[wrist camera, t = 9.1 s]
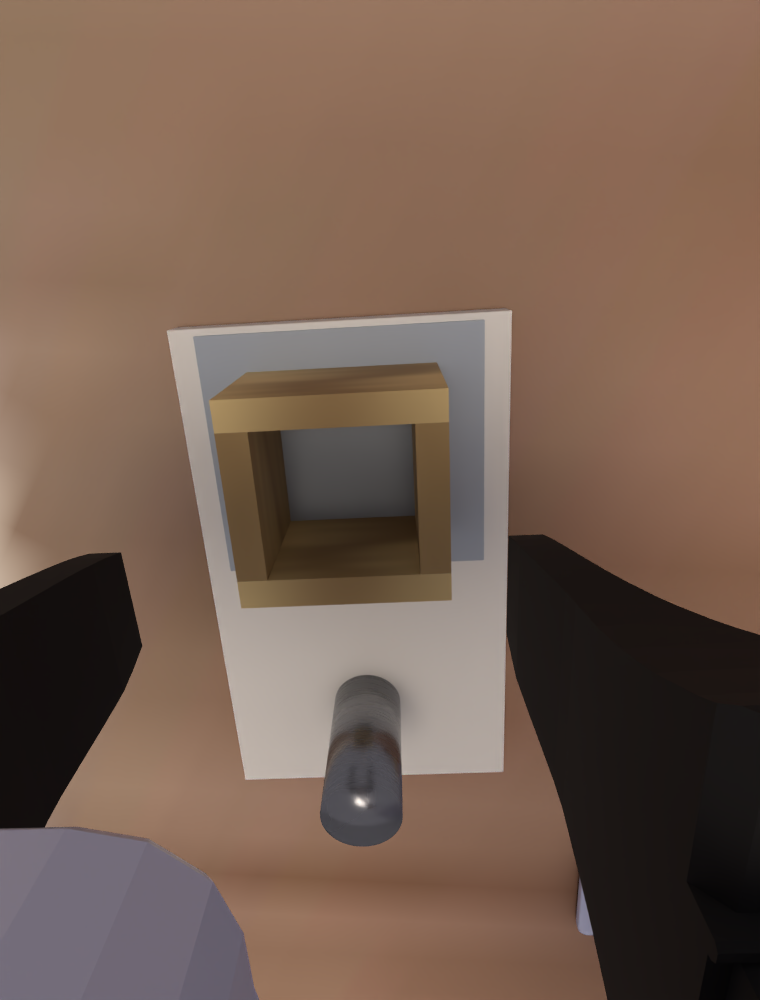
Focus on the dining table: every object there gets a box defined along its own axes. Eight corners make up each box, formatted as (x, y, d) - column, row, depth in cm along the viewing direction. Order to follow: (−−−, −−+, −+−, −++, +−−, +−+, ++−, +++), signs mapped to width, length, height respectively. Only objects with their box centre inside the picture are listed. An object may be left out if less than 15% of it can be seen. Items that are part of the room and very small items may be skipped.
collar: (436, 362, 18) (448, 388, 14) (440, 537, 20) (451, 600, 16) (246, 372, 18) (208, 400, 14) (269, 544, 20) (241, 608, 16)
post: (398, 657, 23) (400, 783, 17) (401, 709, 24) (404, 845, 18) (334, 659, 23) (316, 785, 18) (339, 711, 24) (324, 847, 18)
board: (506, 308, 19) (513, 310, 17) (499, 752, 25) (504, 775, 23) (177, 327, 19) (164, 331, 18) (251, 760, 25) (244, 783, 24)
